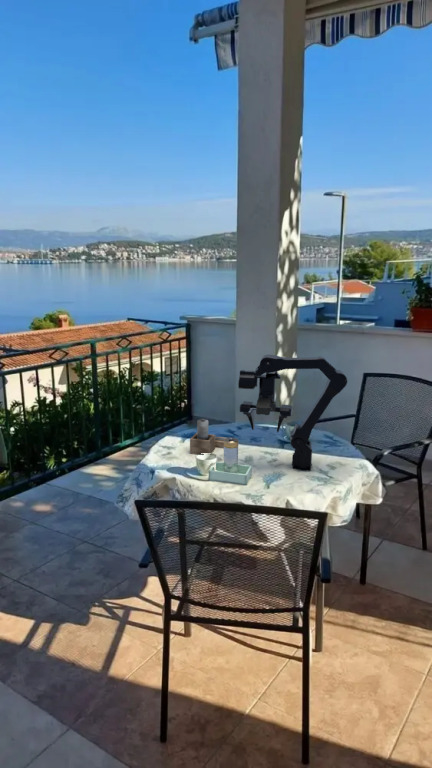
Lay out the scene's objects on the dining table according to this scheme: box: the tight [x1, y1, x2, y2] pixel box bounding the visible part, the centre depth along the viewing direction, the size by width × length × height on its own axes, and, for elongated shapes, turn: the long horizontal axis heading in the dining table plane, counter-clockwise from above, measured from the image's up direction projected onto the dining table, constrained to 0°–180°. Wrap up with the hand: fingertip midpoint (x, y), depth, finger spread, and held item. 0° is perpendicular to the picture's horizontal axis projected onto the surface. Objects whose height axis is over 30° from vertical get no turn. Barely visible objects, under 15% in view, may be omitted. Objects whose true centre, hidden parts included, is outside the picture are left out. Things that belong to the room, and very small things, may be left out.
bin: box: [189, 418, 216, 455], centre depth 197 cm, size 8×8×13 cm
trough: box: [208, 461, 253, 486], centre depth 173 cm, size 13×9×4 cm, turn 74°
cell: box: [223, 436, 239, 474], centre depth 171 cm, size 5×5×14 cm
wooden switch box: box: [215, 436, 227, 449], centre depth 205 cm, size 8×6×3 cm
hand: (265, 431), depth 183 cm, fingers open, 9 cm apart
